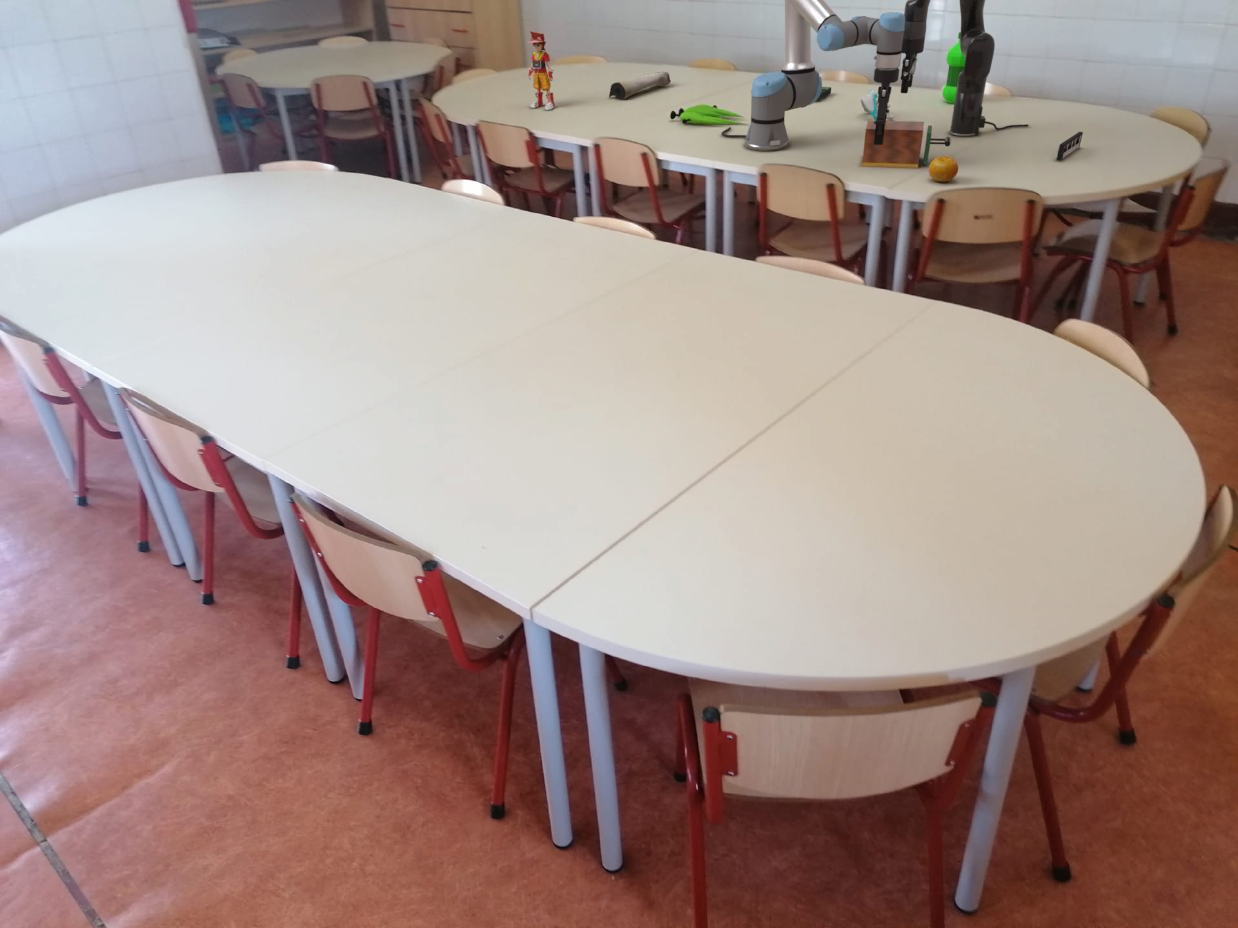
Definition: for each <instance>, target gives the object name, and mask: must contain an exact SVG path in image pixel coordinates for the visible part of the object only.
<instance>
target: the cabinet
mask: <svg viewBox="0 0 1238 928" xmlns="http://www.w3.org/2000/svg"><path fill="white" fill-rule="evenodd" d="M874 121H875V120H867V123H866V127H865V133H864V142H863V151H862V162H861V166H862V167H885V168H886V167H888V168H890V167H891V168H916V169H918V168H919V164H920V158H919V157H921V151H920V150H921V149H922V144H921V142H923V137H922V135H924V126H925V124H924V123H925V122H924V121H913V120H912V121H911V120H910V121H909V120H908V121H905V120H886V121H885V127H884V136H883V144H882V145H874V138H875V128H876V124H874Z"/></svg>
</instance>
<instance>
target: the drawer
mask: <svg viewBox="0 0 1238 928" xmlns="http://www.w3.org/2000/svg"><path fill="white" fill-rule="evenodd" d="M932 133H933V125H927V132H926V137H925V138H926V139H925V146H924V152H923V162H922V163H923V165H928V162H929V156H930V155H929V154H930V147H931V145H944V147H950V146H951V137H950V136H945V137H944V138H934V137H932ZM923 135H924V134H923ZM923 135H922V138H923V137H924V136H923ZM922 142H923V141H922ZM922 142H921V145H922ZM920 152H921V150H920ZM920 157H921V156H920ZM920 157H919V159H921V158H920Z"/></svg>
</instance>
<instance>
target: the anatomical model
mask: <svg viewBox="0 0 1238 928" xmlns="http://www.w3.org/2000/svg"><path fill="white" fill-rule="evenodd" d="M860 103H861V106H862V108H863V111H864V112H865V113H870V115H871V117H872V118H873V121H876V120H877V113H878V104H879V103H878V92H877V93H875V91H874V90H869V92H868V93H867V95H864V96H862V97H861V96H860ZM887 107H888V108H887V110H890V108H891V104H888V106H887ZM886 114H887V118H886V120H893V119H894V118H895V115H894V114H889V113H886Z"/></svg>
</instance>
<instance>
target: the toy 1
mask: <svg viewBox="0 0 1238 928" xmlns="http://www.w3.org/2000/svg"><path fill="white" fill-rule="evenodd" d="M529 33H530V35H531V36H528V37H527V38H528V39H529V40H528V41H527V43H529V44H530V43H531V44H532V48H533V50H534V51H533V52H532V55H531V58H530V59H531V63H530V66H528V74H527V75H528V76H527V77H528V79H529V80H531V75H532V74H533V84H532V85H533V86H532V87H533V88H534V89H535V90H536V92H534V95H535V97H536V100H535V101H533V102H531V105H530V108H531V109H535V108H538V107H542V106H544V101H543V100H544V99H543V95H544V92H546V94H545V97H546V99H547V103H546V104H545V106H544V110H546V111H549V110H553V109H554V107H555V106H556V105H555V99H554V92H551V91H550V90H551V86H552V84H551V82H552V81H553V80H554V77H553V73H554V71H555V70H554V69H552V68H551V63H550V61H551V59H550V58H551V57H550V54H549V53H548V52H547V50H546V48H545V46H546V44H547V41H545V35H544V33H543V32H542V33H539V32H535V31H529Z"/></svg>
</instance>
